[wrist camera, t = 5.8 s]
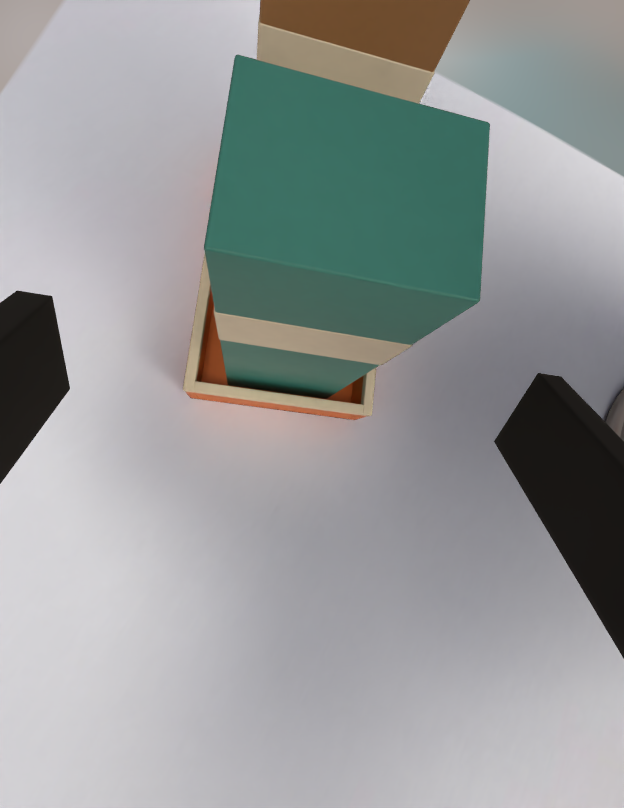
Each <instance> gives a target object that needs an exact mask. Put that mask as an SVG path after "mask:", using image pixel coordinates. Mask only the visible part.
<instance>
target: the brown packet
mask: <svg viewBox="0 0 624 808" xmlns="http://www.w3.org/2000/svg"><path fill="white" fill-rule="evenodd" d="M469 1H470V0H260V16H259V22H258V43H257V60H259V61H263V62H267V63H270V64H274V65H278V66H281V67H285V68H289V69H293V70H296V71H300V72H304V73H307V74H311V75H315V76H318V77H322V78H326V79H330V80H333V81H337V82H341V83H344V84H348V85H352V86H355V87H359V88H363V89H366V90H370V91H374V92H378V93H381V94H385V95H389V96H392V97H396V98H400V99H403V100H407V101H411V102H414V103H418V104H419V102H420V101H421V99H422V97H423V95H424V93H425V91H426V89H427V87H428V85H429V83H430V81H431V79H432V77H433V75H434V72H435V68H436V66H437V64H438V63H439V60H440V59H441V56H442V55H443V53H444V51H445V49H446V47H447V45H448V43H449V41H450V39H451V37H452V35H453V33H454V31H455V29H456V27H457V25H458V23H459V21H460V19H461V17H462V15H463V13H464V11H465V9H466V7H467V5H468V3H469Z"/></svg>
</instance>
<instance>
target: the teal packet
mask: <svg viewBox="0 0 624 808" xmlns="http://www.w3.org/2000/svg"><path fill="white" fill-rule="evenodd" d="M489 130H490V124H489V123H488V122H485V121H481V120H477V119H474V118H470V117H466V116H463V115H459V114H455V113H451V112H448V111H444V110H440V109H437V108H433V107H429V106H426V105H422V104H418V103H414V102H411V101H407V100H403V99H400V98H396V97H392V96H389V95H385V94H381V93H378V92H374V91H370V90H366V89H363V88H359V87H355V86H352V85H348V84H344V83H341V82H337V81H333V80H330V79H326V78H322V77H318V76H315V75H311V74H307V73H304V72H300V71H296V70H293V69H289V68H285V67H281V66H278V65H274V64H270V63H267V62H263V61H259V60H256V59H252V58H248V57H245V56H241V55H236V56H235V59H234V66H233V72H232V78H231V84H230V90H229V96H228V103H227V109H226V115H225V121H224V127H223V133H222V139H221V146H220V152H219V158H218V164H217V170H216V176H215V183H214V189H213V195H212V201H211V207H210V213H209V220H208V226H207V232H206V238H205V244H204V250H205V256H206V262H207V268H208V273H209V279H210V285H211V291H212V297H213V302H214V316H215V321H216V327H217V332H218V338H219V339H220V343H221V349H222V354H223V360H224V366H225V372H226V378H227V383H228V385H232V386H239V387H246V388H253V389H260V390H267V391H275V392H282V393H289V394H296V395H303V396H310V397H317V398H324V399H327V398H329V397H330V396H332V395H334V394H335V393H337V392H338V391H340V390H341V389H343V388H345V387H346V386H348V385H349V384H351V383H352V382H354V381H356V380H357V379H359V378H360V377H362V376H363V375H365V374H367V373H368V372H370V371H371V370H373V369H374V368H376V367H378V366H379V365H383V364H384V363H386V362H388V361H389V360H391V359H392V358H394V357H396V356H397V355H399V354H400V353H402V352H404V351H405V350H407V349H408V348H410V347H411V346H412V345H413V344H414V343H415V342H417V341H418V340H420V339H422V338H423V337H425V336H426V335H428V334H429V333H431V332H433V331H434V330H436V329H437V328H439V327H440V326H442V325H444V324H445V323H447V322H448V321H450V320H451V319H453V318H455V317H456V316H458V315H459V314H461V313H463V312H464V311H466V310H467V309H469V308H470V307H472V306H474V305H475V304H477V303H478V302H479V301H480V291H481V273H482V255H483V237H484V219H485V201H486V184H487V166H488V148H489Z"/></svg>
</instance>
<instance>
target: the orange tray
mask: <svg viewBox="0 0 624 808" xmlns="http://www.w3.org/2000/svg"><path fill="white" fill-rule="evenodd" d="M375 375H376V368H374V369H373V370H371V371H370V372H368V373H367V374H365V375H363V376H362V377H360V378H359V379H357V380H356V381H354V382H352V383H351V384H349V385H348V386H346V387H345V388H343V389H341V390H340V391H338V392H337V393H335V394H334V395H332V396H330V397H329V398H327V399H324V398H317V397H310V396H303V395H296V394H289V393H282V392H275V391H267V390H260V389H253V388H246V387H239V386H232V385H228V383H227V378H226V372H225V366H224V360H223V354H222V349H221V343H220V339H219V338H218V332H217V327H216V321H215V316H214V302H213V297H212V291H211V285H210V279H209V273H208V268H207V262H206V256H205V255H204V261H203V267H202V273H201V279H200V286H199V292H198V298H197V304H196V310H195V317H194V323H193V329H192V335H191V341H190V347H189V354H188V360H187V366H186V372H185V378H184V385H183V390H184V391H185V392H186V393H187V394H188V395H189V396H190V398H194V399H202V400H209V401H217V402H224V403H232V404H239V405H247V406H254V407H262V408H269V409H277V410H284V411H292V412H299V413H307V414H314V415H322V416H329V417H336V418H344V419H351V420H356V419H359V418H363V417H366V416H371V415H372V408H373V397H374V386H375Z"/></svg>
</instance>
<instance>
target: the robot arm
mask: <svg viewBox="0 0 624 808" xmlns="http://www.w3.org/2000/svg"><path fill="white" fill-rule="evenodd" d="M69 389H70V386H69V381H68V376H67V371H66V366H65V360H64V355H63V350H62V345H61V340H60V334H59V329H58V324H57V319H56V314H55V308H54V303H53V298H52V296H48V295H41V294H35V293H29V292H22V291H16V292H15V293H13V294H12V295H11V296H9V297H8V298H6V299H5V300H4V301H2V302H1V303H0V484H1V482H2V481H3V479H4V478H5V477H6V475H7V474H8V473H9V471H10V470H11V469H12V467H13V466H14V464H15V463H16V462H17V460H18V459H19V458H20V456H21V455H22V454H23V452H24V451H25V449H26V448H27V447H28V445H29V444H30V443H31V441H32V440H33V439H34V437H35V436H36V434H37V433H38V432H39V430H40V429H41V428H42V426H43V425H44V423H45V422H46V421H47V419H48V418H49V417H50V415H51V414H52V413H53V411H54V410H55V408H56V407H57V406H58V404H59V403H60V402H61V400H62V399H63V398H64V396H65V395H66V393H67V392H68V391H69ZM494 442H495V444H496V446H497V447H498V449H499V451H500V452H501V454H502V456H503V457H504V459H505V461H506V462H507V464H508V466H509V467H510V469H511V471H512V472H513V474H514V476H515V477H516V479H517V481H518V482H519V484H520V486H521V487H522V489H523V491H524V492H525V494H526V496H527V497H528V499H529V501H530V502H531V504H532V506H533V508H534V509H535V511H536V513H537V514H538V516H539V518H540V519H541V521H542V523H543V524H544V526H545V528H546V529H547V531H548V533H549V534H550V536H551V538H552V539H553V541H554V543H555V544H556V546H557V548H558V549H559V551H560V553H561V554H562V556H563V558H564V559H565V561H566V563H567V564H568V566H569V568H570V569H571V571H572V573H573V574H574V576H575V578H576V579H577V581H578V583H579V584H580V586H581V588H582V589H583V591H584V593H585V594H586V596H587V598H588V600H589V601H590V603H591V605H592V606H593V608H594V610H595V611H596V613H597V615H598V616H599V618H600V620H601V621H602V623H603V625H604V626H605V628H606V630H607V631H608V633H609V635H610V636H611V638H612V640H613V641H614V643H615V645H616V646H617V648H618V650H619V651H620V653H621V655H622V656H623V658H624V389H623V390H622V391H621V392H620V394H619V395H618V397H617V398H616V400H615V401H614V403H613V405H612V407H611V409H610V411H609V413H608V416H607V419H606V422H605V421H604V420H603V419H602V418H601V417H600V416H599V415H598V414H597V413H596V412H595V411H594V410H593V409H592V408H591V407H590V406H589V405H588V404H587V403H586V402H585V401H584V400H583V399H582V398H581V397H580V396H579V395H578V394H577V393H576V392H575V390H574V389H573V388H572V387H571V386H570V385H569V384H568V383H567V382H566V381H565V380H564V379H563V378H562V377H560V376H554V375H548V374H541V373H538V374H537V375H536V377H535V378H534V380H533V382H532V383H531V385H530V386H529V388H528V389H527V391H526V393H525V394H524V396H523V397H522V399H521V400H520V402H519V403H518V405H517V407H516V408H515V410H514V411H513V413H512V414H511V416H510V417H509V419H508V421H507V422H506V424H505V425H504V427H503V428H502V430H501V431H500V433H499V435H498V436H497V438H496V439H495V441H494Z"/></svg>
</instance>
